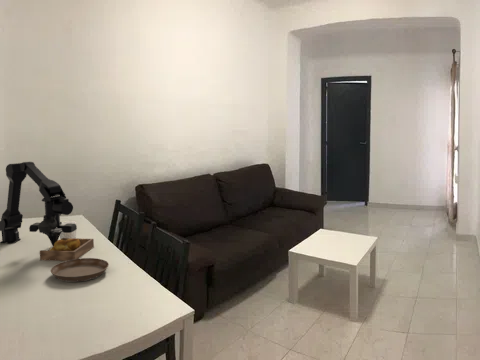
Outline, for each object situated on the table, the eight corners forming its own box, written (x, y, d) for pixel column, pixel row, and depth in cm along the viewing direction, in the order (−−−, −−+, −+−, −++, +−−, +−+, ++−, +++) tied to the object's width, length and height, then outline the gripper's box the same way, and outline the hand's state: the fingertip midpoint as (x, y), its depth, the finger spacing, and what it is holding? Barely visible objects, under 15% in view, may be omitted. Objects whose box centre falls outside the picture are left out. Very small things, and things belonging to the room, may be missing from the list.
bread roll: (47, 259, 165) (46, 240, 164) (53, 251, 175) (52, 234, 174) (79, 257, 168) (78, 239, 167) (83, 250, 178) (82, 233, 176)
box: (40, 260, 164) (39, 251, 163) (62, 246, 183) (61, 238, 182) (75, 261, 163) (74, 251, 163) (93, 247, 182) (93, 238, 182)
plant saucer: (91, 261, 164) (91, 253, 164) (119, 273, 151) (119, 265, 151) (41, 275, 148) (40, 266, 148) (67, 290, 135) (67, 281, 135)
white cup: (72, 245, 184) (71, 225, 183) (56, 245, 184) (55, 224, 183) (80, 240, 192) (79, 220, 190) (64, 240, 192) (63, 220, 191)
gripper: (20, 215, 163) (23, 251, 165) (64, 216, 162) (66, 252, 164) (35, 209, 174) (37, 243, 176) (76, 211, 173) (78, 244, 175)
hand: (54, 246), depth 173 cm, fingers closed
